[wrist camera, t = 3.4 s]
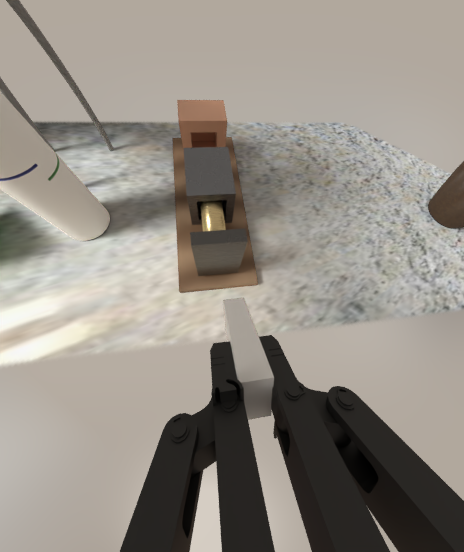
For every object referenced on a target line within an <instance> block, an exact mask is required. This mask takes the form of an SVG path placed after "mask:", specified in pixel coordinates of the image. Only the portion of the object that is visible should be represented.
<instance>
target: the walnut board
mask: <svg viewBox="0 0 464 552" xmlns="http://www.w3.org/2000/svg"><path fill="white" fill-rule="evenodd" d="M226 147H228V149H229V155H230V161H231V167H232V173H233V179H234V185H235V191H236V197H235V205H234V212H233V220H232V223H225V227H226V230H230V229H246V235H247V240H248V242H247V245H246V248H245V252H244V255H243V258H242V262H241V265H240V268H239V271H238V273H228V274H217V275H207V276H198V273H197V269H196V264H195V260H194V256H193V252H192V248H191V239H190V232H201V231H203V227H202V225H192V221H191V216H190V211H189V205H188V200H187V193H186V178H185V163H184V151H183V144H182V138H173V158H174V181H175V203H176V226H177V249H178V271H179V291H180V293H184V292H194V291H204V290H213V289H223V288H233V287H243V286H252V285H257V284H258V281H257V275H256V270H255V264H254V259H253V253H252V248H251V242H250V236H249V231H248V225H247V220H246V214H245V209H244V203H243V198H242V192H241V186H240V181H239V175H238V170H237V164H236V159H235V153H234V148H233V142H232V137H226Z"/></svg>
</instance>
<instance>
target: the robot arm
mask: <svg viewBox="0 0 464 552" xmlns="http://www.w3.org/2000/svg"><path fill="white" fill-rule="evenodd" d="M223 303H224V318H225V331H226V337H227V342H221V343H214V344H213V346H212V348H211V350H210V354H211V371H212V398H211V401H210V402H209V404H208V405H207V406H206V407H205V408H204V409H202V410H201V411H199V412H197V413H196V414H194V415H192V416H191V415H189V414H186V413H183V414H178V415H176V416H174V417H172V418H171V419H170V420H169V421H168V423H167V424H166V426H165V428H164V430H163V432H162V435H161V438H160V440H159V443H158V446H157V449H156V452H155V455H154V458H153V460H152V463H151V466H150V468H149V472H148V474H147V477H146V480H145V482H144V485H143V488H142V491H141V494H140V496H139V499H138V502H137V505H136V508H135V510H134V513H133V516H132V519H131V522H130V525H129V527H128V530H127V533H126V536H125V538H124V541H123V544H122V547H121V550H120V552H189V551H190V545H191V538H192V533H193V527H194V521H195V515H196V510H197V503H198V498H199V492H200V486H201V480H202V474H203V470H204V469H205V468H207V467H208V466H209V465H211V464H212V463H214V462H215V461H217V475H218V493H219V509H220V525H221V542H222V552H275V550H274V545H273V541H272V536H271V531H270V526H269V522H268V516H267V511H266V506H265V502H264V497H263V492H262V487H261V482H260V477H259V473H258V467H257V462H256V457H255V452H254V448H253V443H252V438H251V433H250V428H249V424H248V420H249V419H255V418H260V417H265V416H271V410H272V412H273V415H274V419H275V423H274V438H277V437H278V440H279V444H280V447H281V450H282V454H283V457H284V460H285V464H286V467H287V470H288V474H289V477H290V480H291V484H292V487H293V490H294V493H295V497H296V500H297V503H298V507H299V510H300V513H301V517H302V520H303V523H304V526H305V529H306V533H307V536H308V540H309V543H310V547H311V550H312V552H390V551H389V549H388V547H387V545H386V543H385V541H384V539H383V537H382V535H381V533H380V531H379V529H378V527H377V525H376V523H375V521H374V519H373V518H372V516H371V514H370V512H369V510H370V511H371V513H372V514H373V515H374V517H375V518H376V520H377V521H378V523H379V524H380V526H381V527H382V528H383V530H384V531H385V533H386V534H387V536H388V537H389V539H390V540H391V541H392V543H393V544H394V546H395V547H396V549H397V550H398V551H399V552H464V501H463V500H462V499H461V498H460V497H459V496H458V495H457V494H456V493H455V492H454V491H453V490H452V489H451V488H450V487H449V486H448V485H447V484H446V483H445V482H444V481H443V480H442V479H441V478H440V477H439V476H438V475H437V474H436V473H435V472H434V471H433V470H432V469H431V468H430V467H429V466H428V465H427V464H426V463H425V462H424V461H423V460H422V459H421V458H420V457H419V456H418V455H417V454H416V453H415V452H414V451H413V450H412V449H411V448H410V447H409V446H408V445H407V444H406V443H405V442H403V440H402V439H401V438H400V437H399V436H398V435H397V434H395V432H393V430H392V429H391V428H389V427H388V425H387V424H386V423H384V422H383V420H381V419H380V418H379V417H378V416H377V415H376V414H375V413H374V412H373V411H372V410H371V409H370V408H369V407H368V406H367V405H366V404H365V403H364V402H363V401H362V400H361V399H360V398H359V397H358V396H357V395H356V394H355V393H354V392H352V391H351V390H349V389H347V388H345V387H340V386H336V387H332V388H331V389H330V390H329V392H328V393H327V392H321V391H315V390H311V389H308V388H306V387H305V386H304V385H303V384H301V383H300V382H299V381H298V380H297V379H296V377H295V375H294V373H293V371H292V369H291V367H290V365H289V363H288V361H287V359H286V357H285V355H284V353H283V350H282V349H281V346H280V345H279V342H278V341H277V340H276V339H275V338H274V337H273V336H272V335H269V336H262V337H259V336H258V334H257V331H256V328H255V326H254V323H253V320H252V318H251V315H250V313H249V310H248V307H247V305H246V302H245V299H244V298H237V299H227V300H223ZM366 505H367V506H366ZM367 507H368V508H369V510H368V508H367Z"/></svg>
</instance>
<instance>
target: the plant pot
mask: <svg viewBox="0 0 464 552" xmlns="http://www.w3.org/2000/svg"><path fill="white" fill-rule="evenodd" d="M428 208H429V212H430V214H431V215H432V217H433V218H434V219H435V220H436V221H437V222H438V223H440V224H441V225H443V226H446V227H449V228H460V227H464V161H463V163H462V164H461V165H460V166H459V167H458V168H457V169H456V170H455V171H454V172H453V173H452V175H451V176H450V177H449V178H448V179H447V180H446V182H445V183H444V184H443V185H442V186H441V188H440V189H439V190H438V191H437V193H436V194H435V195H434V197H433V198H432V199H431V201H430V202H429V205H428Z"/></svg>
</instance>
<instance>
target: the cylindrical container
mask: <svg viewBox="0 0 464 552" xmlns="http://www.w3.org/2000/svg"><path fill="white" fill-rule="evenodd" d="M0 189H1V190H2V191H3V192H5V193H6V194H8V195H9V196H11V197H12V198H14V199H15V200H17V201H18V202H20V203H21V204H23V205H24V206H26V207H27V208H29V209H30V210H32V211H33V212H34V213H36V214H37V215H39V216H40V217H42V218H43V219H45V220H46V221H48V222H49V223H51V224H52V225H54V226H55V227H57V228H58V229H59V230H61V231H62V232H64V233H65V234H67V235H68V236H70V237H71V238H73V239H75V240H79V241H87V240H91V239H94V238H96V237H98V236H100V235H101V234H102V233H103V232H104V231H105V230H106V229H107V227H108V225H109V222H110V216H109V213H108V211H107V210H106V209H105V207H104V206H103V205H102V204H101V203H100V202H99V201H98V200H97V199H96V197H95V196H94V195H93V194H92V193H91V192H90V191H89V190H88V189H87V187H86V186H85V185H84V184H83V183H82V182H81V181H80V180H79V179H78V177H77V176H76V175H75V174H74V173H73V172H72V171H71V170H70V168H69V167H68V166H67V165H66V164H65V163H64V162H63V161H62V160H61V158H60V157H59V156H58V155H57V154H56V153H55V152H54V151H53V150H52V148H51V147H50V146H49V145H48V144H47V143H46V142H45V141H44V140H43V138H42V137H41V136H40V135H39V134H38V133H37V132H36V131H35V129H34V128H33V127H32V126H31V125H30V124H29V123H28V122H27V121H26V119H25V118H24V117H23V116H22V115H21V114H20V113H19V112H18V111H17V109H16V108H15V107H14V106H13V105H12V104H11V103H10V102H9V101H8V99H7V98H6V97H5V96H4V95H3V94H2V93H1V92H0Z"/></svg>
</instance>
